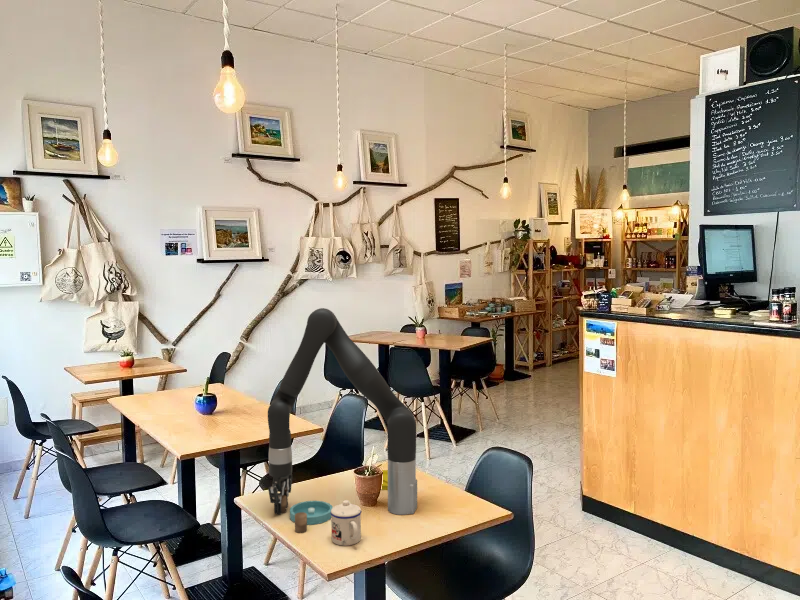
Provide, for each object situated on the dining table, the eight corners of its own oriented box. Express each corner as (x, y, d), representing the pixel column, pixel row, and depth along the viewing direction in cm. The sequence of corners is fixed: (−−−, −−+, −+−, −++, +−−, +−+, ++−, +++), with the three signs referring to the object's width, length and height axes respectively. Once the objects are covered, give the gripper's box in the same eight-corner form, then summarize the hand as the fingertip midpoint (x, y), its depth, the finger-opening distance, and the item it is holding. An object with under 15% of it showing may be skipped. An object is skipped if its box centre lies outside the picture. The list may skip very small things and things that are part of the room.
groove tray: (338, 509, 212) (338, 502, 212) (323, 526, 198) (323, 519, 198) (300, 506, 215) (299, 499, 215) (283, 522, 202) (282, 515, 202)
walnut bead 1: (288, 510, 212) (288, 495, 211) (283, 514, 208) (283, 499, 208) (278, 509, 213) (278, 494, 212) (273, 513, 209) (273, 498, 209)
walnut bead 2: (308, 528, 197) (308, 512, 197) (304, 533, 194) (304, 517, 193) (297, 527, 198) (297, 511, 198) (293, 532, 195) (292, 516, 194)
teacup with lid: (326, 536, 192) (325, 498, 191) (354, 530, 196) (353, 493, 195) (341, 553, 181) (341, 513, 180) (370, 546, 185) (370, 507, 184)
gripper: (281, 467, 201) (282, 520, 203) (299, 454, 215) (300, 503, 216) (259, 465, 203) (260, 518, 204) (279, 452, 217) (279, 501, 218)
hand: (281, 510), depth 210 cm, fingers open, 4 cm apart
